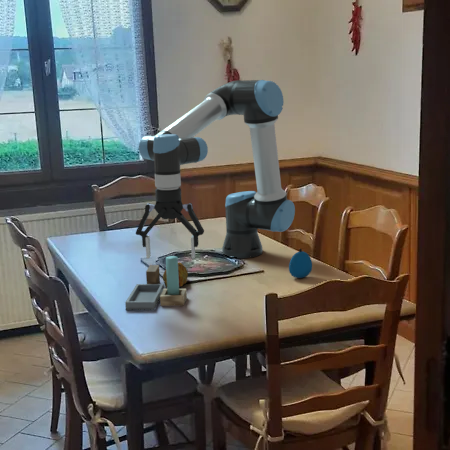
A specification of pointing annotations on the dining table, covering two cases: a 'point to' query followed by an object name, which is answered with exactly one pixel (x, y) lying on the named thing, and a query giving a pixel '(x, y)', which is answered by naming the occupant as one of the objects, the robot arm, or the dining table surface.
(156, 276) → the block
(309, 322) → the dining table surface
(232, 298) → the dining table surface
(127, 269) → the dining table surface
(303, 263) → the ornament
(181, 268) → the rock
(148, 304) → the tray
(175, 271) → the dowel
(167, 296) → the socket block
